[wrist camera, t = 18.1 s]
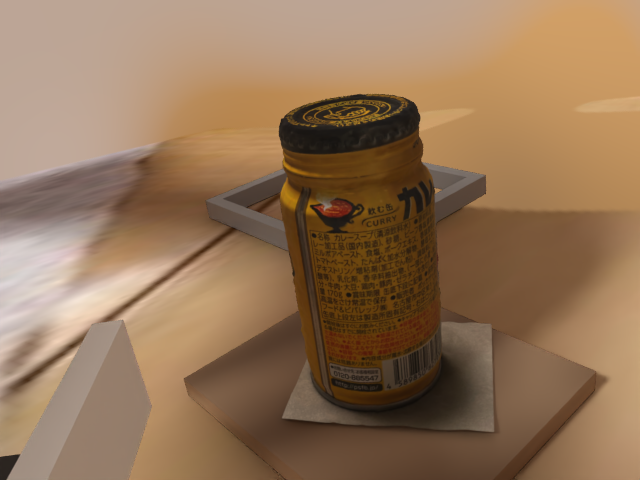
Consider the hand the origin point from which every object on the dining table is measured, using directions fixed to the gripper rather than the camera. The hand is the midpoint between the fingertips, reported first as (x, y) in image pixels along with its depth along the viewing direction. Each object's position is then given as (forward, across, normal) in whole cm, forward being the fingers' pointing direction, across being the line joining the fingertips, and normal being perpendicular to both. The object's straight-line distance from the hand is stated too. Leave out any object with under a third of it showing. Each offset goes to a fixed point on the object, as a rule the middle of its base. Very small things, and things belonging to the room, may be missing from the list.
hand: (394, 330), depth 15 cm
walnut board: (+9, 0, -10) cm, 13 cm away
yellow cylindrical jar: (+9, +1, -9) cm, 13 cm away
